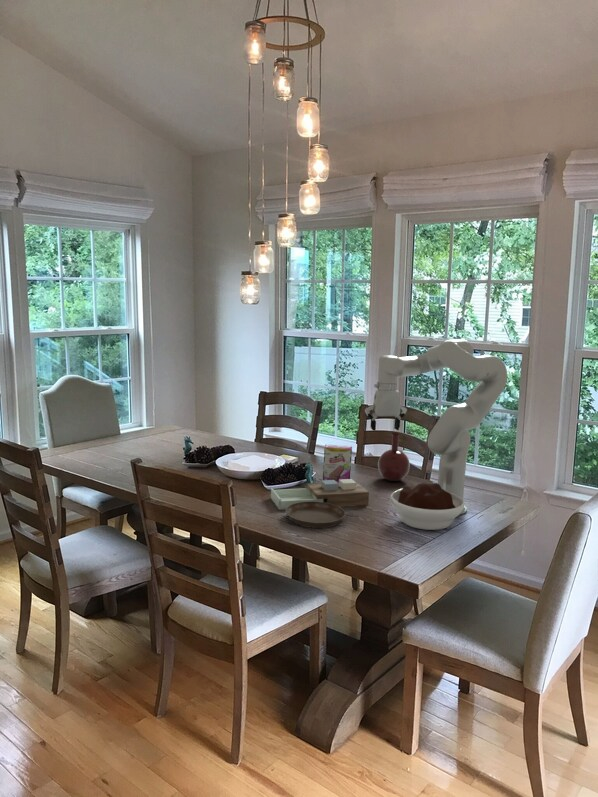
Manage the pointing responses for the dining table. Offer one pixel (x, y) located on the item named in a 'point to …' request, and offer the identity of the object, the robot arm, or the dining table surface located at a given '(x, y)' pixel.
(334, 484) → the slate tile
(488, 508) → the dining table surface
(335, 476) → the candy bar box
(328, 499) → the wooden board
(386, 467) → the round-bottom flask
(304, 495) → the tray
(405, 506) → the white serving bowl
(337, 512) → the plant saucer
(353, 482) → the cream tile
